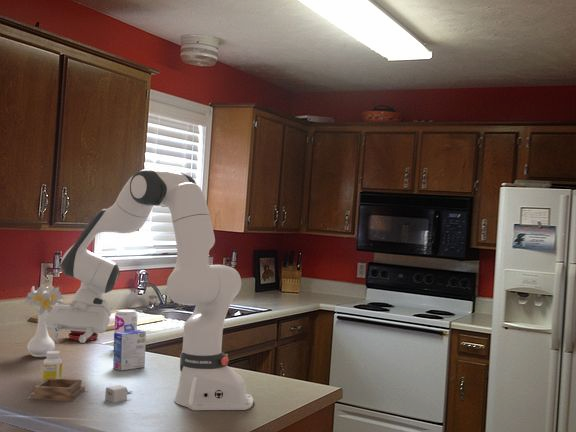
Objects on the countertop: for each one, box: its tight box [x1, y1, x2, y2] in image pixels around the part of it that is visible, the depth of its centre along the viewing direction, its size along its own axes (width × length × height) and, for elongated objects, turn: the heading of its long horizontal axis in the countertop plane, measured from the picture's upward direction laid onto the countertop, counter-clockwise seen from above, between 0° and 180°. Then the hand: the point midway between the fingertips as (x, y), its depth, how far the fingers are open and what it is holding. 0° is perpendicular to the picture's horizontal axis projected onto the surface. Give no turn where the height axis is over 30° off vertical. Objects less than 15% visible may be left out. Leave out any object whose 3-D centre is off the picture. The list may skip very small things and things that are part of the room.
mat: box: [26, 390, 89, 402], centre depth 195 cm, size 14×11×1 cm
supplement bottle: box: [42, 350, 63, 381], centre depth 207 cm, size 5×5×10 cm
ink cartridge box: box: [112, 324, 147, 372], centre depth 233 cm, size 10×6×14 cm, turn 137°
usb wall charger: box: [104, 384, 133, 403], centre depth 194 cm, size 4×7×4 cm, turn 140°
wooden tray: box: [29, 378, 86, 401], centre depth 195 cm, size 12×10×3 cm
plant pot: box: [68, 330, 99, 342], centre depth 278 cm, size 13×13×12 cm
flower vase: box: [23, 283, 65, 358], centre depth 244 cm, size 13×18×25 cm
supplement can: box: [113, 308, 138, 334], centre depth 261 cm, size 8×8×15 cm
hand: (67, 340), depth 215 cm, fingers open, 8 cm apart
